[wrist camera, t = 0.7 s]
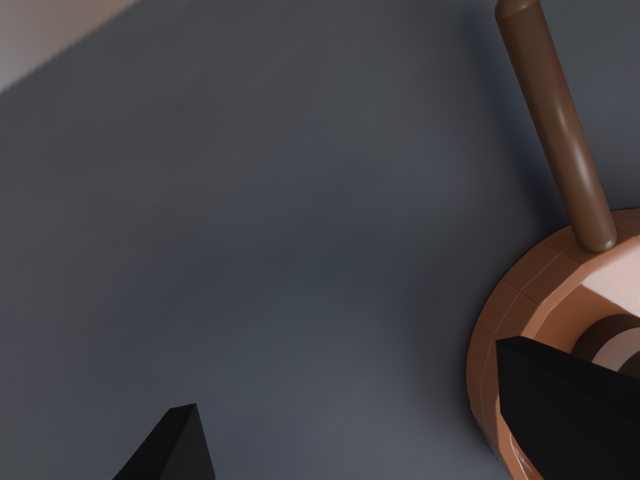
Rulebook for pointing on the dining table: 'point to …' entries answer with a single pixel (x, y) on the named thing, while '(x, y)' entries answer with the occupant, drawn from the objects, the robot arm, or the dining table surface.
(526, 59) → the pan handle
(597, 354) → the cylinder
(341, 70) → the dining table surface
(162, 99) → the dining table surface
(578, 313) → the pan
